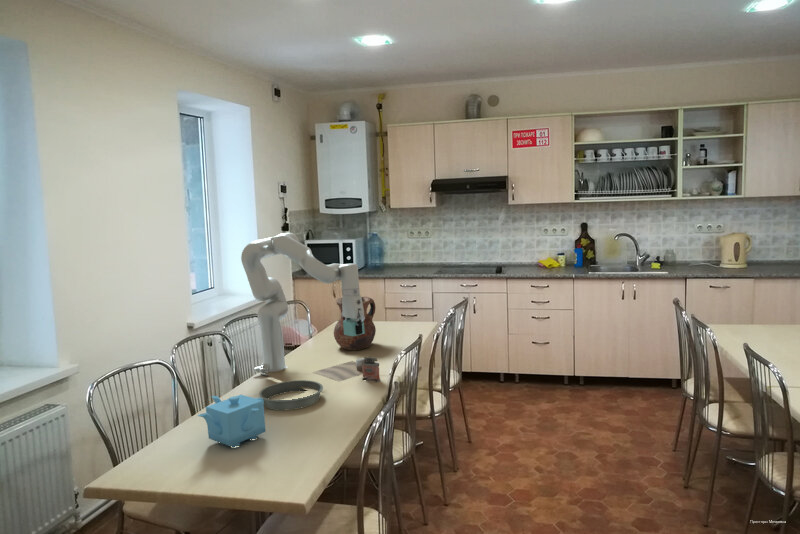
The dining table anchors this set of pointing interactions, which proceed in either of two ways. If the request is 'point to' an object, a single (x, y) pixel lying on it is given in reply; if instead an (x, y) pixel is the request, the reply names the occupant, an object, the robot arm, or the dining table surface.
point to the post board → (343, 370)
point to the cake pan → (288, 387)
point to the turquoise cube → (351, 327)
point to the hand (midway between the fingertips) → (354, 332)
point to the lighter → (370, 369)
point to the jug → (359, 340)
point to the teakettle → (235, 419)
